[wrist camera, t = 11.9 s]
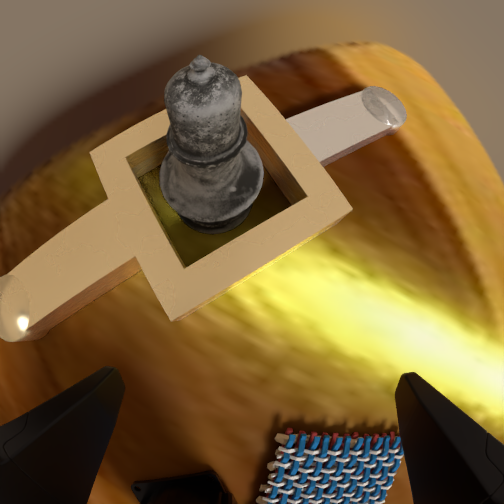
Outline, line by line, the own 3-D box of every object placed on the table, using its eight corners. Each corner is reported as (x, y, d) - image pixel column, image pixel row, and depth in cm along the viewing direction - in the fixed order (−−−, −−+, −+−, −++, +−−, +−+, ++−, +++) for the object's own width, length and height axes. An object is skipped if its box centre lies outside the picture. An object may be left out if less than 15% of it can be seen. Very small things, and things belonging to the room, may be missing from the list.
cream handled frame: (180, 320, 18) (176, 320, 16) (104, 171, 19) (97, 162, 18) (432, 160, 22) (441, 153, 20) (351, 65, 23) (356, 55, 22)
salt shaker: (164, 169, 20) (113, 33, 8) (245, 150, 20) (262, 7, 9) (179, 248, 18) (110, 149, 7) (268, 226, 19) (320, 106, 8)
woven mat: (243, 528, 15) (244, 543, 13) (275, 422, 17) (281, 433, 15) (361, 526, 15) (370, 537, 13) (404, 427, 17) (417, 435, 15)
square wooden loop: (48, 395, 15) (26, 404, 13) (-5, 255, 17) (-28, 248, 14) (336, 224, 20) (353, 209, 17) (244, 100, 21) (246, 75, 18)
